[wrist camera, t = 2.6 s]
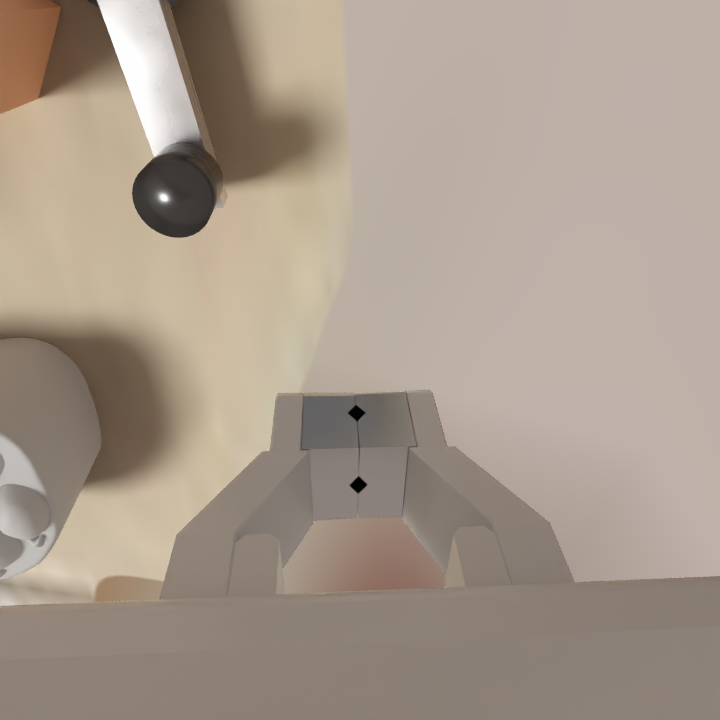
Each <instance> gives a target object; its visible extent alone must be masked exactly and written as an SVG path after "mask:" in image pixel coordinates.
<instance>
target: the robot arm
mask: <svg viewBox="0 0 720 720" xmlns="http://www.w3.org/2000/svg"><path fill="white" fill-rule="evenodd" d="M357 511H358V518H402V520H403V521H404V522H405V524H406V525H407V526H408V528H409V529H410V530H411V531H412V533H413V534H414V535H415V536H416V537H417V539H418V540H419V541H420V542H421V544H422V545H423V546H424V547H425V549H426V550H427V551H428V552H429V554H430V555H431V556H432V557H433V558H434V560H435V561H436V562H437V563H438V564H439V566H440V567H441V568H442V570H443V571H444V572H445V573H446V578H445V584H444V588H425V589H424V588H423V589H401V590H400V589H399V590H375V591H351V592H329V593H328V592H327V593H303V594H285V590H284V580H283V570H282V569H283V568H284V566H285V565H286V563H287V562H288V560H289V559H290V557H291V556H292V554H293V553H294V551H295V550H296V548H297V546H298V545H299V544H300V542H301V541H302V539H303V538H304V536H305V535H306V533H307V532H308V530H309V529H310V527H311V526H312V524H313V521H317V520H333V519H348V518H357ZM0 720H720V576H714V577H688V578H664V579H640V580H617V581H616V580H615V581H591V582H575V581H574V579H573V577H572V574H571V572H570V570H569V567H568V565H567V562H566V560H565V558H564V555H563V553H562V550H561V548H560V546H559V543H558V541H557V539H556V536H555V534H554V532H553V529H552V527H551V524H550V522H548V521H547V520H546V519H545V518H543V517H542V516H541V515H540V514H538V513H537V512H536V511H535V510H534V509H532V508H531V507H530V506H528V505H527V504H526V503H525V502H524V501H522V500H521V499H520V498H519V497H517V496H516V495H515V494H513V493H512V492H511V491H510V490H508V489H507V488H506V487H505V486H503V485H502V484H501V483H500V482H499V481H497V480H496V479H495V478H494V477H492V476H491V475H490V474H489V473H487V472H486V471H485V470H484V469H482V468H481V467H480V466H479V465H477V464H476V463H475V462H473V461H472V460H471V459H470V458H469V457H467V456H466V455H465V454H464V453H462V452H461V451H460V450H459V449H457V448H456V447H447V443H446V440H445V436H444V433H443V429H442V425H441V422H440V418H439V414H438V411H437V407H436V403H435V400H434V396H433V393H432V392H431V391H430V390H417V391H405V392H380V393H377V392H376V393H304V394H303V393H278V394H277V397H276V401H275V410H274V419H273V428H272V436H271V445H270V451H265V452H261V453H260V454H259V455H258V456H257V457H256V458H255V459H254V460H253V461H252V462H251V463H250V464H249V465H248V466H247V467H246V468H245V469H244V470H243V471H242V472H241V473H240V474H239V475H238V476H237V477H236V478H235V479H233V480H232V481H231V482H230V483H229V484H228V485H227V486H226V487H225V488H224V489H223V490H222V491H221V492H220V493H219V494H218V495H217V496H216V497H215V498H214V499H213V500H212V501H211V502H210V503H209V504H208V505H207V506H206V507H205V508H204V509H203V510H202V511H201V512H200V513H199V514H198V515H196V516H195V517H194V518H193V519H192V520H191V521H190V522H189V523H188V524H187V525H186V526H185V527H184V528H183V529H182V530H181V531H180V532H179V533H178V534H177V535H176V539H175V543H174V547H173V550H172V554H171V558H170V561H169V565H168V569H167V572H166V576H165V580H164V583H163V587H162V591H161V595H160V598H159V600H135V601H112V602H87V603H63V604H39V605H15V606H0Z"/></svg>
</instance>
